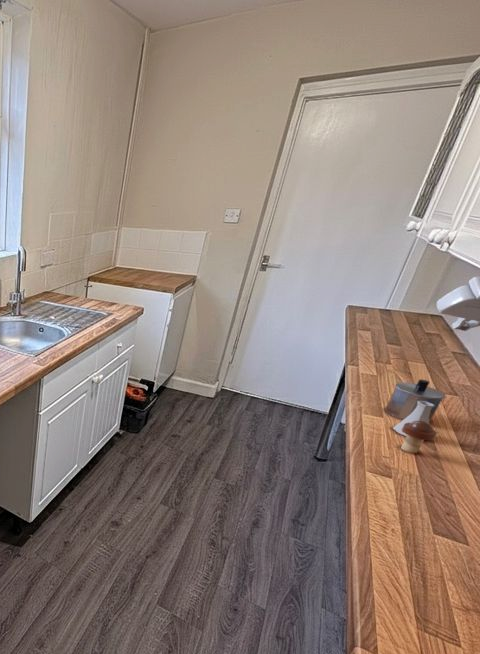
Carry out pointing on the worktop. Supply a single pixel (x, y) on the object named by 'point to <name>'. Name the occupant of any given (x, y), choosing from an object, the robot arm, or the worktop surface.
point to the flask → (416, 415)
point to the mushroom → (416, 435)
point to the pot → (407, 404)
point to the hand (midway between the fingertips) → (457, 328)
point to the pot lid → (420, 390)
